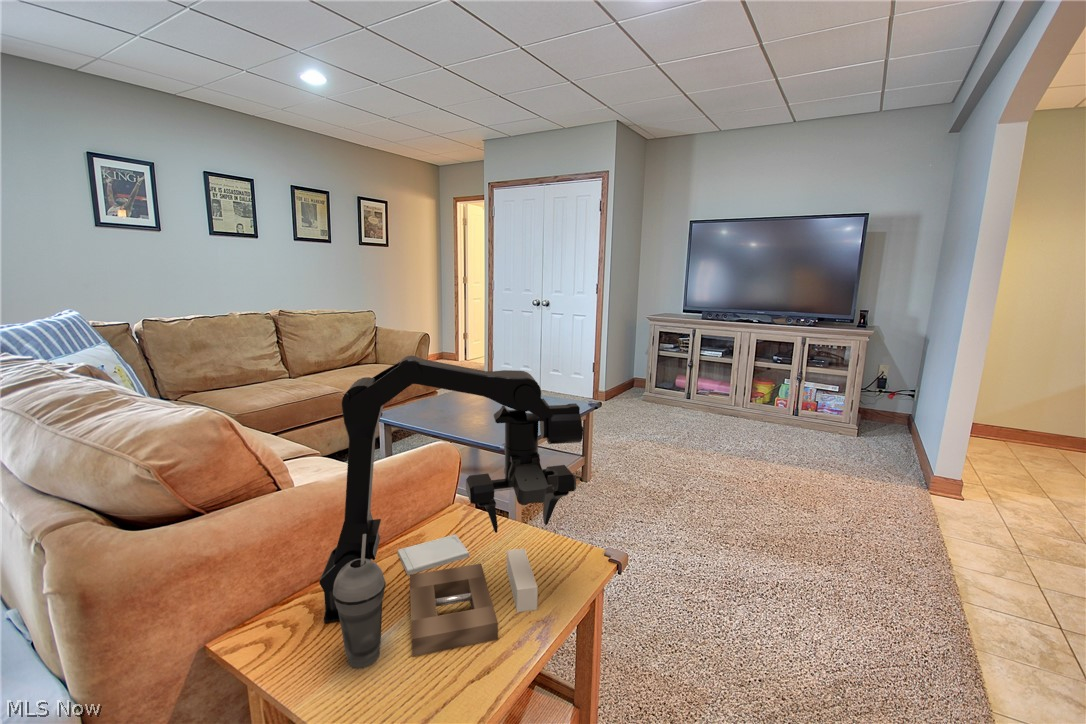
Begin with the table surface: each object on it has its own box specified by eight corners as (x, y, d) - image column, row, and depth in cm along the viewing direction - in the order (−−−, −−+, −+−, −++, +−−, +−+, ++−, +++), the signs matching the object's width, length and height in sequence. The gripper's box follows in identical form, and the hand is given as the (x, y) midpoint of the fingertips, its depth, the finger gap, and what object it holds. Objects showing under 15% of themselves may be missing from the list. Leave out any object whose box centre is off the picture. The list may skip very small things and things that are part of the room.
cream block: (517, 613, 82) (517, 589, 81) (506, 571, 93) (506, 550, 92) (537, 610, 82) (537, 587, 82) (524, 569, 94) (524, 548, 93)
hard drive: (455, 533, 104) (397, 548, 98) (469, 552, 97) (407, 569, 91) (455, 540, 104) (397, 555, 98) (469, 559, 97) (407, 577, 91)
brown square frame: (412, 656, 72) (411, 639, 71) (410, 589, 87) (409, 574, 86) (497, 639, 76) (497, 622, 75) (481, 577, 91) (481, 563, 90)
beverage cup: (350, 637, 75) (342, 520, 72) (395, 639, 75) (390, 522, 72) (328, 675, 68) (318, 548, 65) (378, 677, 68) (371, 549, 64)
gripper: (475, 468, 72) (476, 562, 75) (589, 456, 78) (586, 544, 81) (464, 443, 83) (466, 526, 86) (566, 434, 88) (564, 512, 91)
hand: (520, 527), depth 86 cm, fingers open, 9 cm apart
